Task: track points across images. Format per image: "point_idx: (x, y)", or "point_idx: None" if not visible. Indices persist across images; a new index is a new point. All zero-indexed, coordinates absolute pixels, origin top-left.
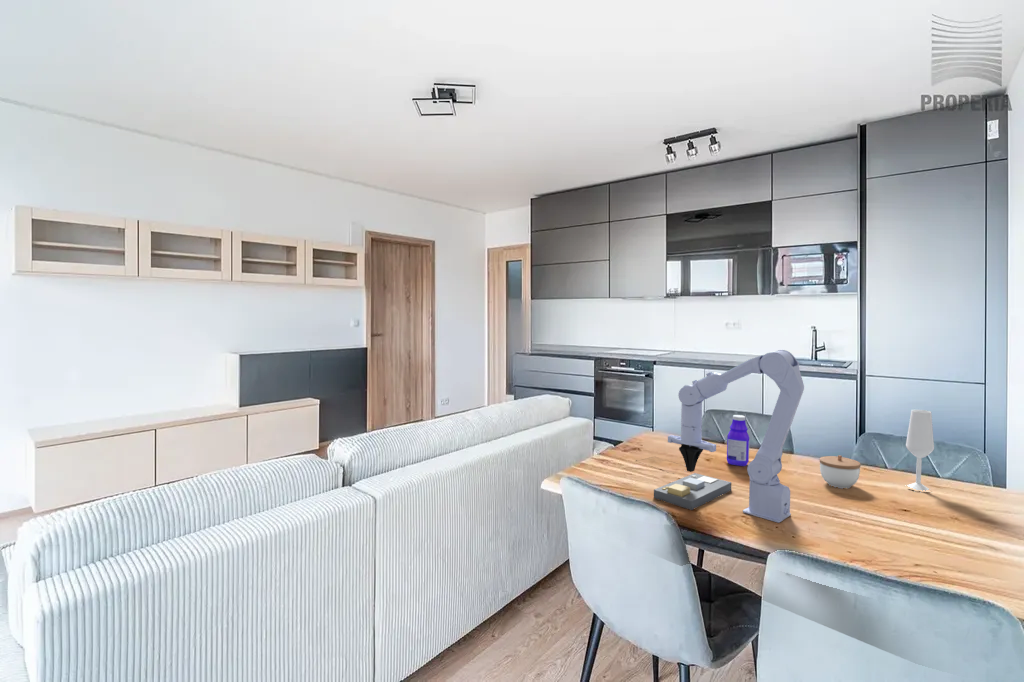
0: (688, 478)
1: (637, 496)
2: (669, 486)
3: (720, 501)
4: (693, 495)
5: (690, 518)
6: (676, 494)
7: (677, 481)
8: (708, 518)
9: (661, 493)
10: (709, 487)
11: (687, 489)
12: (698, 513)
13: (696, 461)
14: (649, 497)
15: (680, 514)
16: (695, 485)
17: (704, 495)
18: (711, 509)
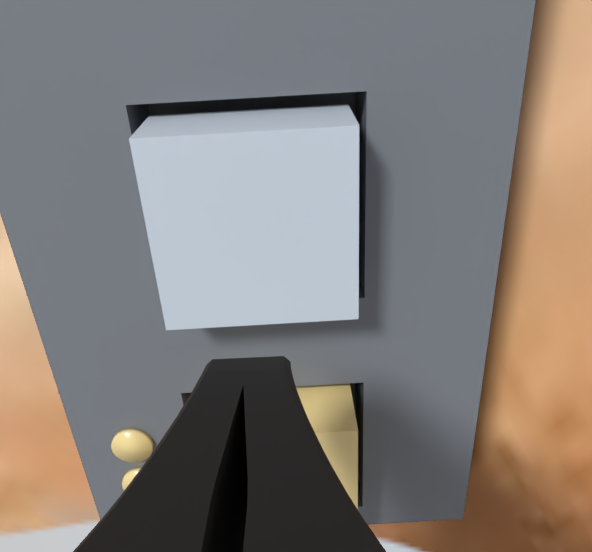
0: (142, 198)
1: (36, 526)
2: None
3: (555, 138)
4: (412, 425)
5: (498, 546)
6: None
7: (33, 221)
8: (589, 483)
9: None
10: (422, 100)
11: (356, 462)
12: (505, 468)
13: (328, 481)
14: None
15: (423, 544)
16: (342, 311)
17: (485, 351)
18: (552, 356)
